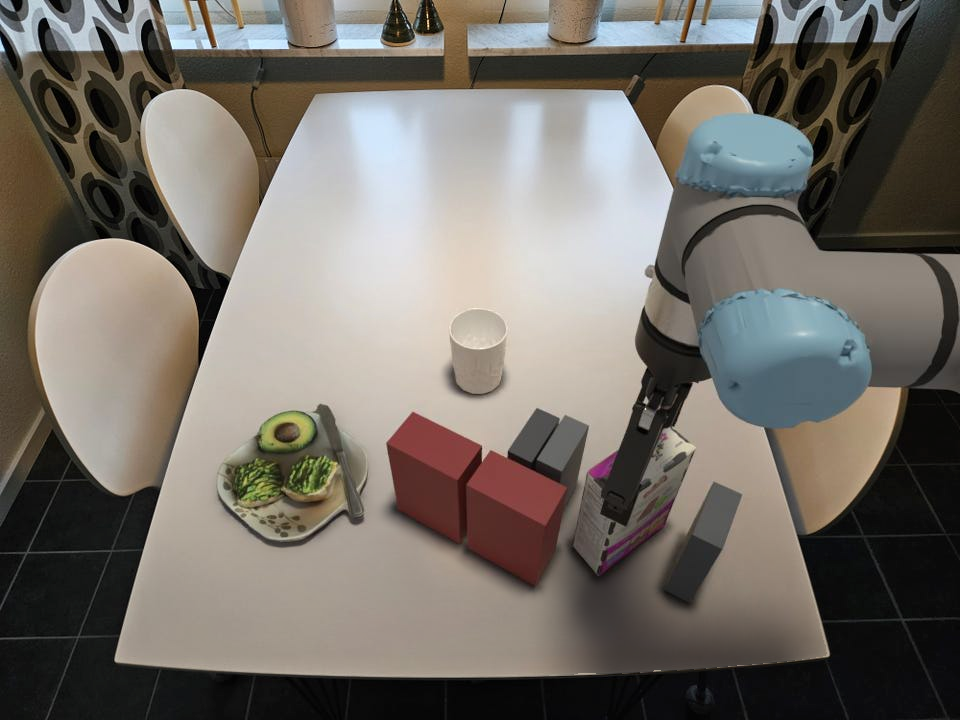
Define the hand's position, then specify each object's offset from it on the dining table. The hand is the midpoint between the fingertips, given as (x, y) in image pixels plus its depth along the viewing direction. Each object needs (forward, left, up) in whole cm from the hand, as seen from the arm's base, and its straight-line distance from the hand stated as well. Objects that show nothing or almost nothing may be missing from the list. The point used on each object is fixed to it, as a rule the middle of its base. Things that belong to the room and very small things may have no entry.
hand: (640, 465), depth 66 cm
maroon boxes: (-8, +15, -15) cm, 22 cm away
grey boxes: (0, +2, -15) cm, 15 cm away
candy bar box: (0, 0, -15) cm, 15 cm away
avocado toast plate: (-13, +38, -15) cm, 43 cm away
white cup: (+13, +27, -15) cm, 33 cm away
